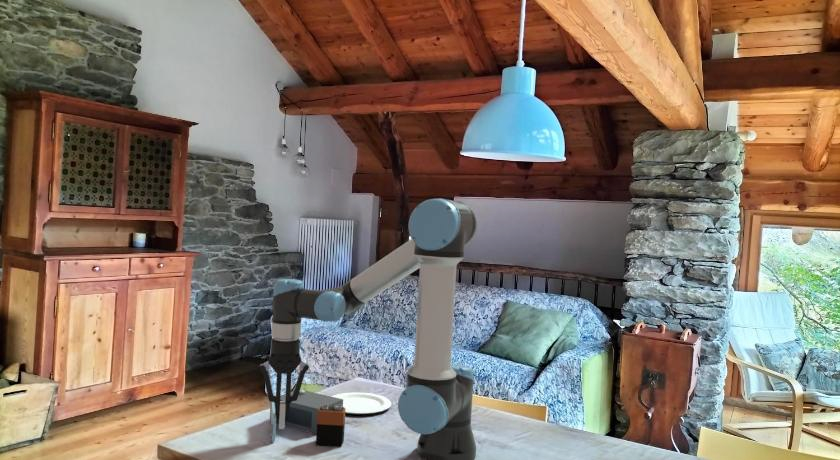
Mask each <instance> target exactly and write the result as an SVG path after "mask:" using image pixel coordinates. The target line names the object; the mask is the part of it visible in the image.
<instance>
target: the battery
mask: <svg viewBox="0 0 840 460" xmlns="http://www.w3.org/2000/svg"><path fill="white" fill-rule="evenodd" d="M345 422H346V413H345V408H344V407H342V405H335V406H334V407H329V406H328V405H322V406H321V407H320V408H319V410H318V413H317V432H316V434H315V435H316V436H315V445H316V446H320V447H336V448H337V447H339V448H341V447H342V446H343V444H344V442H345V441H344V440H345V427H346V426H345V424H346V423H345Z"/></svg>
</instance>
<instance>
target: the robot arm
mask: <svg viewBox="0 0 840 460" xmlns="http://www.w3.org/2000/svg"><path fill="white" fill-rule="evenodd" d="M477 227H478V223H477V217H476V214H475V213H474V211H473V210H472V209H471V207H470V206H469V205H468V204H466V203H464V202H462V201H457V200H451V199H447V198H441V197H440V198H431V199H427V200H424V201H422V202H420V203H419V204H418V205H417V206H416V207H415V208H414V209H413V211H412V212H411V214H410V216H409V220H408V234H409V236H410V239H409V240H408V241H406V242H404V243H403V244H402V245H400V246H399V247H397V248H396V249H394V250H393V251H392V252H390V253H389V254H387V255H385V256H384V257H383V258H381V259H380V260H378V261H376V262H375V263H374V264H372V265H371V266H369V267H368V268H366V269H365V270H363V271H362V272H361V273H358V274H357V275H356V276H355V277H353V278H352V279H350V280H348V281H347V282H346V283H344V284H343V285H341V286H338V287H333V288H328V289H327V288H326V289H322V290H319V289H307V288H304V282H303V280H300V279H297V278H296V279H295V278H281V279H277V280H275V281H274V284H273V294H272V319H271V320H272V321H271V333H270V334H271V337H272V338H271V340H270V355H269V357H268V359H267V361H265V362H263V363H260V364H259V370H260V372H261V373H262V374H263V379H264V384H265V388H266V393H267V399H268V401H269V402H270V403H271V401H272V402H274V403H275V415H279V424H278V430H284V429H285V427H286V426H285V415H289V413H290V403H291V402H292V401H296V400H297V398H298V395H299V391H300V389H301V387H302V384H303V381H304V378H305V374H306V373H307V371H308V370H309V368H310V366H309V363H308V362H304V361H303V360H302V357H301V354H300V353H301V339H300V337H301V335H302V334H301V333H302V332H301V331H302V319H310V320H314V321H315V320H316V321H322V322H324V323H326V322H331V323H333V322H334V323H336V322H338V321H340V320H341V318H342V317H343V316H344V315H347V314H354V313H356V312H358V311H359V310H361V309H362V308H363V307H364V305H365V304H366V303H368V302H369V301H371V300H372V299H373V298H375V297H376V296H378V295H379V294H381V293H382V292H384V291H386V290H388V289H390V288H391V287H392V286H393V285H396V284H397V283H398V282H400V281H402V280H403V279H405V278H406V277H408V276H409V275H411V274H412V273H414V272H415V271H417V270H418V269H419V276H418V277H419V278H418V279H419V280H418V292H417V293H418V294H417V295H418V297H417V309H416V310H417V312H416V325H415V342H414V359H413V364H412V365H411V366H410V367H409V368H407V371H406V372H407V373H406V386H405V388H404V389H403V391H402V392H401V393H400V396H399V398H398V400H397V401H398V402H397V409H398V410H397V411H398V414H399V417H400V420H401V421H402V422H403V423H404V425H406V427H407V428H408V429H410V430H411V431H413V432H414V433H417V434H419V438H418V440H417V446H416V449H417V450H416V451H417V455H418V456H419V457H421V458H422V459H424V460H474V459H476V457H477V444H476V440H475V436H474V433H473V429H472V408H473V394H474V393H473V391H474V382H475V378H474V370H473V368H472V367H470V366H468V365H465V364H461V363H454V362H451V361H452V346H453V345H452V344H453V342H452V341H453V333H454V332H453V329H454V316H455V315H454V313H455V296H456V282H457V281H456V279H457V265H458V264H459V263H461V262H462V261H463V260H464V257H465V255H464V254H465V246H466V245H467V244H469V242H471V241H472V239H473V238H474V236H475V234H476V231H477ZM298 366H299V367H298ZM270 367H271V369H272V370H273V371H274V373H275V374H276V383H275V384H276V385H275V387H276V388H275V395H274V391H273V388H272V387H273V386H272V383H271V382H272V381H271V377H270V374H269V370H270ZM297 368H299V373H298V376H297V380H296V383H295V387H294V389H293V391H294V392H293V391H291V389H292V373H294V371H296V369H297ZM283 374H286V380H285V381H286V382H285V394H286V398H285V401H280V398H281V394H282V393H281V392H282V375H283ZM291 392H293V395H291ZM290 395H291V396H290Z"/></svg>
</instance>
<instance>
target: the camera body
mask: <svg viewBox="0 0 840 460" xmlns="http://www.w3.org/2000/svg"><path fill="white" fill-rule="evenodd" d="M293 392H294V390H292V391H291V395H293ZM291 395H290V396H291ZM331 396H332V395H331ZM331 396H330V395H326V394H322V393H318V392H314V391H308V390H304V389H301V388H300V391H299V395H298V398H297V400H296V401H292V402H291V403H290V413H289V415H285V426H284V427H286V428H291V429H295V430H299V431H303V432H305V433H310V434H313V435H316V432H317V413H318V410H319V408H320V407H321V406H322V405H328V406H329V407H334V406H335V405H342V407H343V399H340V398H335V397H331ZM285 398H286V393H284V394H282V395H281V398H280V401H285ZM276 425H279V415H276Z"/></svg>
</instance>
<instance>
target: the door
mask: <svg viewBox="0 0 840 460" xmlns="http://www.w3.org/2000/svg"><path fill="white" fill-rule="evenodd" d="M276 430H277V424H276V415H275V403H274V402H272V401H271V402H270V409H269V435H271V440H272V441H271V442H276V435H277V433H276Z"/></svg>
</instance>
